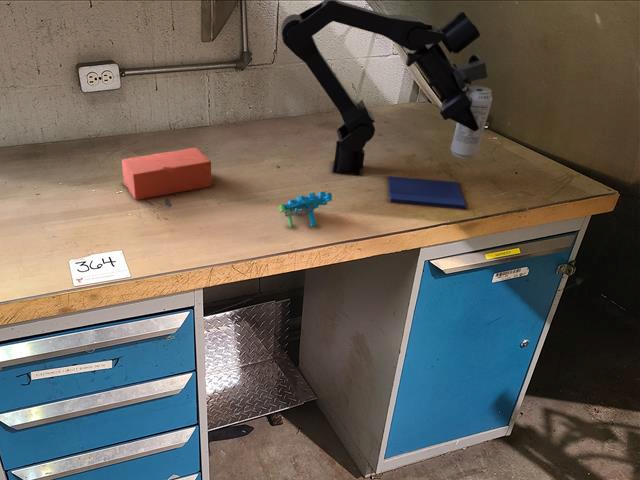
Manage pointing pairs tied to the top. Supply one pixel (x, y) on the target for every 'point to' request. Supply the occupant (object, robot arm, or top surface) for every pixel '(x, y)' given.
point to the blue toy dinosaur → (305, 206)
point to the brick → (166, 173)
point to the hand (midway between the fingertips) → (477, 125)
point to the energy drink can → (468, 139)
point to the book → (426, 192)
